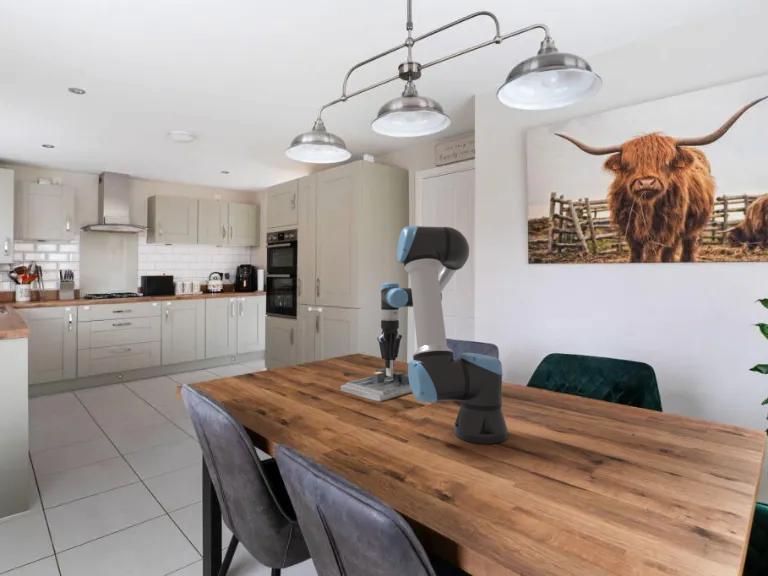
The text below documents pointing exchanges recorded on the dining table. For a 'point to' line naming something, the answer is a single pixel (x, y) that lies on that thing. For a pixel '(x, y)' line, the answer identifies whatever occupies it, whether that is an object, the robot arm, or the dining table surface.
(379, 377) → the toggle
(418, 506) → the dining table surface
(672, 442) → the dining table surface
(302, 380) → the dining table surface
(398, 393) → the panel
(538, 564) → the dining table surface
